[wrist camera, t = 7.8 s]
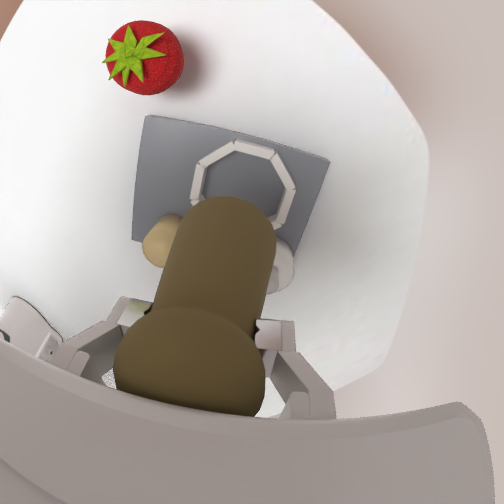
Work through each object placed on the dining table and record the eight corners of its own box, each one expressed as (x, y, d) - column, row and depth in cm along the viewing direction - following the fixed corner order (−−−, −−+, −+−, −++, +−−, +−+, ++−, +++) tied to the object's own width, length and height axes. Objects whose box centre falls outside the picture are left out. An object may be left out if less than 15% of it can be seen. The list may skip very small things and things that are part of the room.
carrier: (283, 274, 32) (284, 310, 26) (135, 234, 30) (111, 263, 25) (327, 159, 25) (343, 175, 19) (150, 115, 23) (119, 120, 18)
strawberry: (169, 21, 18) (120, -9, 9) (213, 70, 21) (180, 52, 12) (125, 60, 20) (63, 52, 11) (166, 108, 23) (113, 116, 14)
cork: (159, 242, 16) (70, 392, 7) (222, 173, 14) (131, 330, 5) (229, 298, 18) (200, 457, 9) (298, 246, 16) (320, 430, 7)
